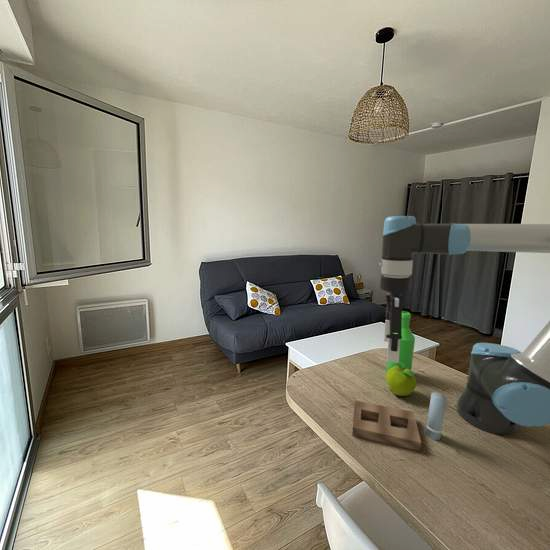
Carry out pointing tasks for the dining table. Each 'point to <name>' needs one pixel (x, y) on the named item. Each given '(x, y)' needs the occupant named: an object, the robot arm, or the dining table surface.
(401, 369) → the fruit
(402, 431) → the board
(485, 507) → the dining table surface
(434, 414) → the peg
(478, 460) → the dining table surface
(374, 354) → the dining table surface
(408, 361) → the bottle
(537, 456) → the dining table surface
